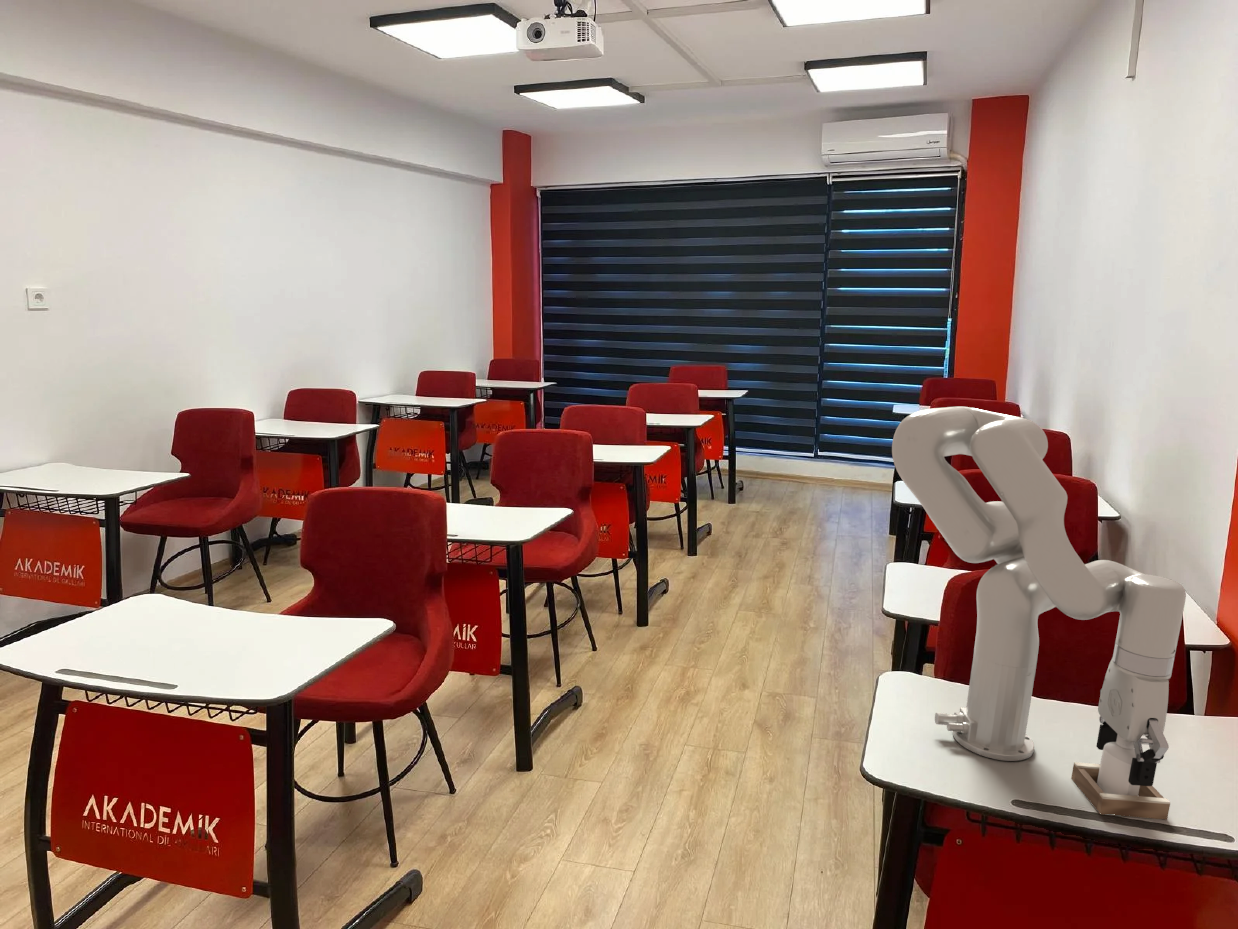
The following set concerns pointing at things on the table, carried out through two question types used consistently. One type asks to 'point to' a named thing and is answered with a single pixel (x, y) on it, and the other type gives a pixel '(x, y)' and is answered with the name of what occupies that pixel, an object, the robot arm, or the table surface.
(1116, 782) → the eye dropper bottle
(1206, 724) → the table surface
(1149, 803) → the walnut collar
